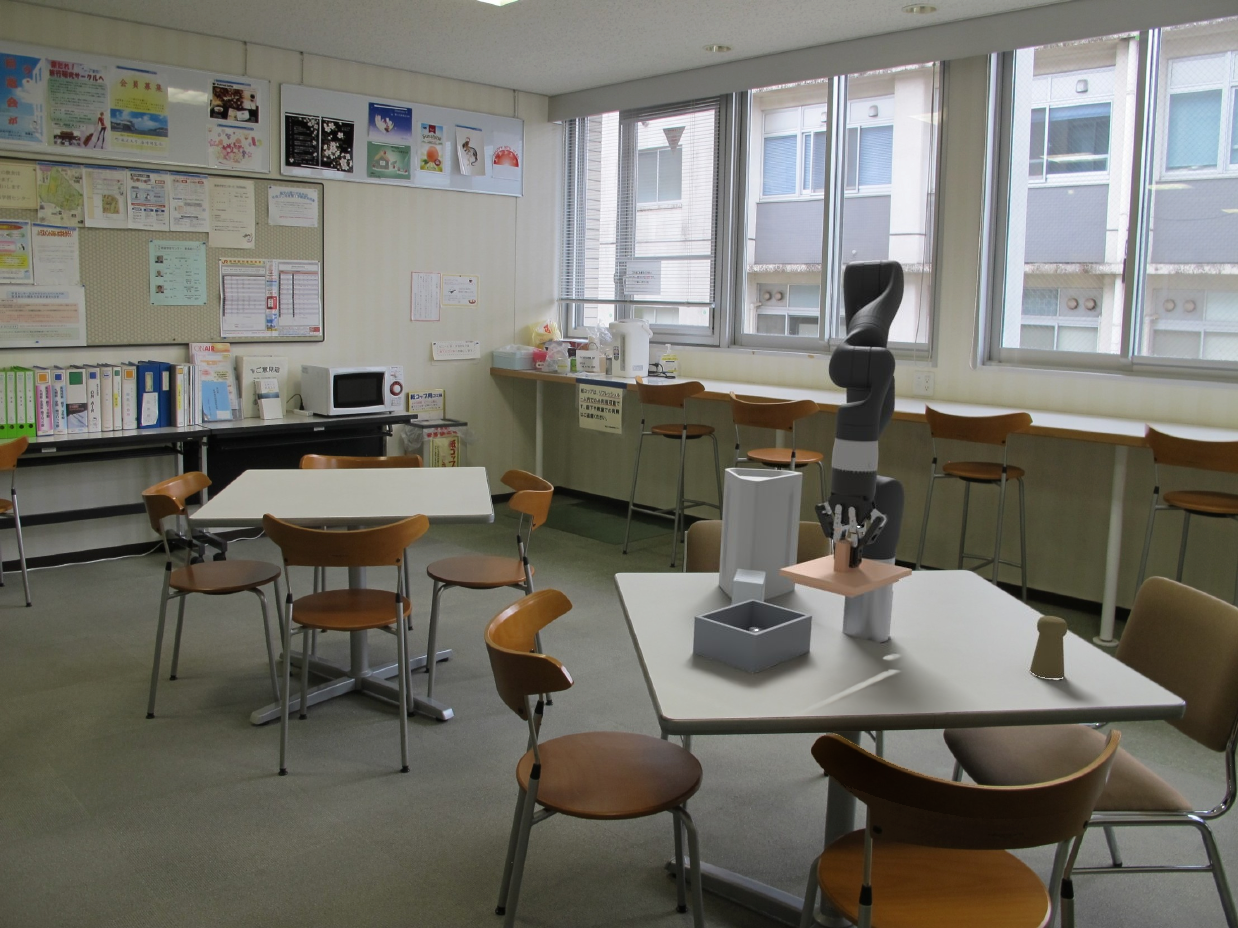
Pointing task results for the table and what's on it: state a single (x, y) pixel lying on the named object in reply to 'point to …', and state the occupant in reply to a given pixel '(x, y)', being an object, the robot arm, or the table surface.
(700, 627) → the tub
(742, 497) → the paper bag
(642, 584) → the table surface
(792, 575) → the lid
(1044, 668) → the cork
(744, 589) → the skincare box
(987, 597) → the table surface
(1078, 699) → the table surface
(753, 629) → the metal part
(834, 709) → the table surface
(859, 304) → the robot arm
